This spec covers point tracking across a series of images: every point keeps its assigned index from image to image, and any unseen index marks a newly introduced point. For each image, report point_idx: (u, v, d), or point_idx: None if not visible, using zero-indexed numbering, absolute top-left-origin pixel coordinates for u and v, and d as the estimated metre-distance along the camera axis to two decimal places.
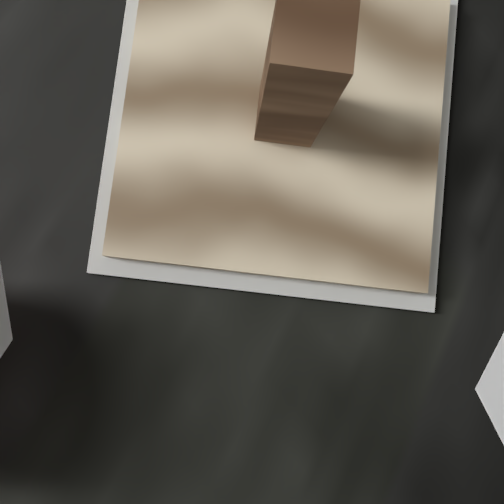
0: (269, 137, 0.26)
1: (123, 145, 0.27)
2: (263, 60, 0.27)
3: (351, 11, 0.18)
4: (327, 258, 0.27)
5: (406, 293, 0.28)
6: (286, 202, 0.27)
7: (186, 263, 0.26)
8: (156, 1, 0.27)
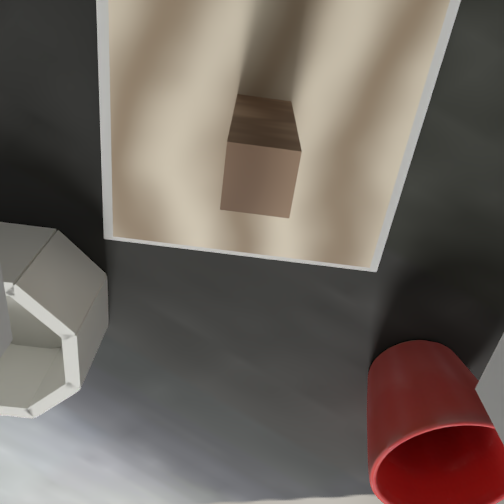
0: None
1: (284, 253, 0.34)
2: (207, 143, 0.30)
3: (243, 150, 0.21)
4: (401, 87, 0.28)
5: None
6: (342, 125, 0.29)
7: (385, 209, 0.32)
8: (161, 229, 0.33)
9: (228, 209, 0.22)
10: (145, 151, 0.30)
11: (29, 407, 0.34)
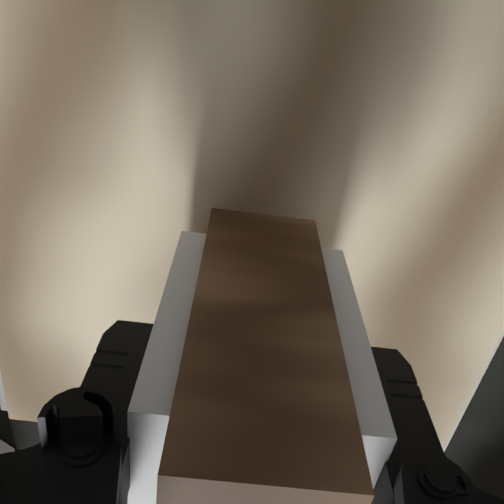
0: None
1: None
2: (159, 287, 0.16)
3: (206, 492, 0.07)
4: None
5: None
6: (409, 260, 0.16)
7: (473, 385, 0.18)
8: None
9: None
10: (48, 299, 0.17)
11: None
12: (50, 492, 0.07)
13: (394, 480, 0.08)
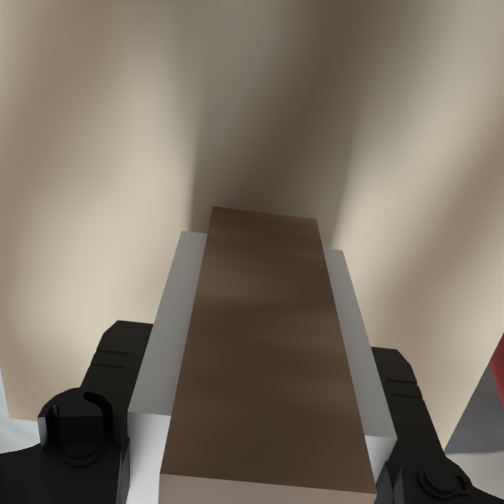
0: None
1: None
2: (160, 286, 0.16)
3: (207, 490, 0.07)
4: None
5: None
6: (410, 259, 0.16)
7: (475, 384, 0.18)
8: None
9: None
10: (49, 298, 0.17)
11: None
12: (50, 492, 0.07)
13: (394, 480, 0.08)
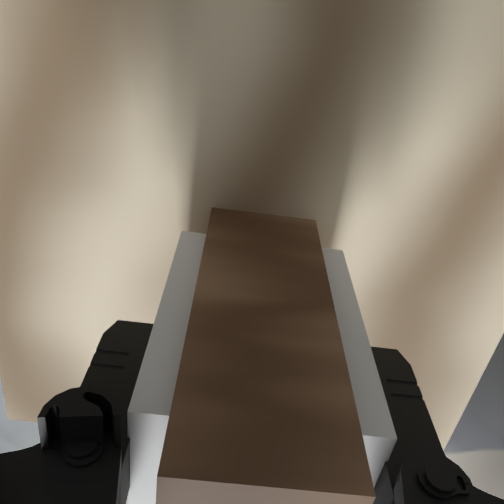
0: None
1: None
2: (159, 287, 0.16)
3: (205, 493, 0.07)
4: None
5: None
6: (410, 259, 0.15)
7: (474, 385, 0.18)
8: None
9: None
10: (48, 299, 0.17)
11: None
12: (50, 492, 0.07)
13: (394, 480, 0.08)
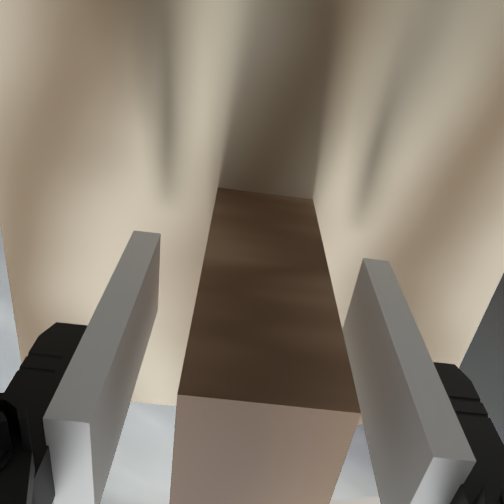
0: None
1: None
2: (168, 263, 0.17)
3: (217, 410, 0.08)
4: None
5: None
6: (400, 236, 0.17)
7: (461, 357, 0.20)
8: None
9: None
10: (65, 274, 0.18)
11: None
12: None
13: None
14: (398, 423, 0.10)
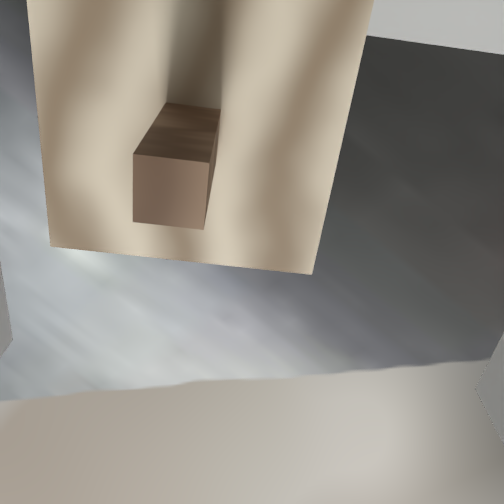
0: (216, 153, 0.29)
1: (225, 261, 0.33)
2: None
3: (149, 162, 0.20)
4: (330, 95, 0.28)
5: None
6: (274, 133, 0.29)
7: (323, 216, 0.32)
8: (99, 238, 0.32)
9: (141, 221, 0.22)
10: (77, 160, 0.30)
11: None
12: None
13: None
14: None
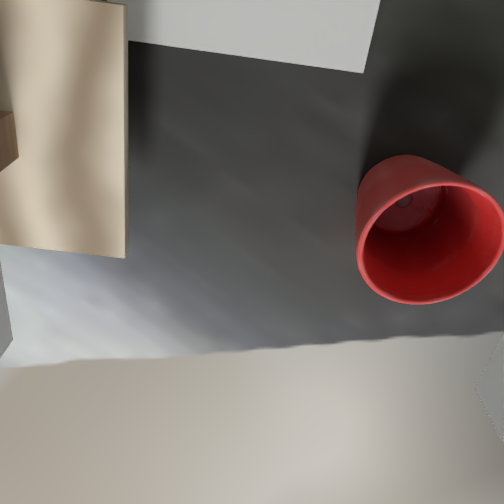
0: (12, 149, 0.33)
1: (45, 245, 0.38)
2: None
3: None
4: (104, 100, 0.32)
5: None
6: (63, 132, 0.33)
7: (123, 206, 0.36)
8: None
9: None
10: None
11: None
12: None
13: None
14: None
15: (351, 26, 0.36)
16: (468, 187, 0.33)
